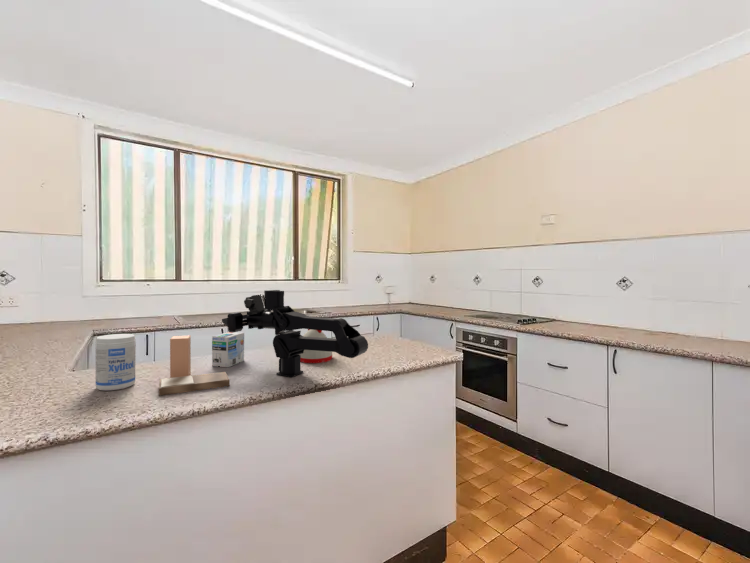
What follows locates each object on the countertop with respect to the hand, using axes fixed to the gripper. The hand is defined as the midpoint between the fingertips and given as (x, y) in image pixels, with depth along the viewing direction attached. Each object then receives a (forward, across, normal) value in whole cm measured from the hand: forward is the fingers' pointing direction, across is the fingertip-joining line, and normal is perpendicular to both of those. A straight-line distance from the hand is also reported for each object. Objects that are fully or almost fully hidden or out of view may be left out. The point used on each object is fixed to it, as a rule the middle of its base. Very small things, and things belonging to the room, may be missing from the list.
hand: (232, 318), depth 132 cm
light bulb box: (+3, -1, +17) cm, 17 cm away
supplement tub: (+12, +33, +16) cm, 39 cm away
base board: (-8, +23, +17) cm, 29 cm away
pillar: (+3, +19, +16) cm, 26 cm away
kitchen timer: (-20, -21, +18) cm, 34 cm away
